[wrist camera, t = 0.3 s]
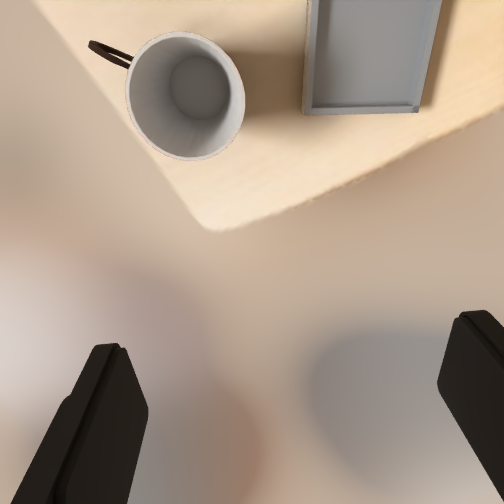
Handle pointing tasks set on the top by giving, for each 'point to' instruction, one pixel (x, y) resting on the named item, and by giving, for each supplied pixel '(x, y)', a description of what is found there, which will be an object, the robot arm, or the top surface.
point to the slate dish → (367, 55)
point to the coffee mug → (182, 94)
